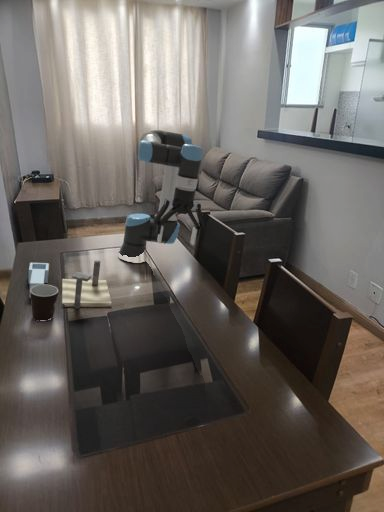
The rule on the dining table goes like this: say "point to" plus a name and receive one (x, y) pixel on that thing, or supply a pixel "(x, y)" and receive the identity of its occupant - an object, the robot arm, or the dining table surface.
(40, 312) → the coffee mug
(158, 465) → the dining table surface
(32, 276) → the link
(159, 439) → the dining table surface
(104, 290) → the pintle plate
